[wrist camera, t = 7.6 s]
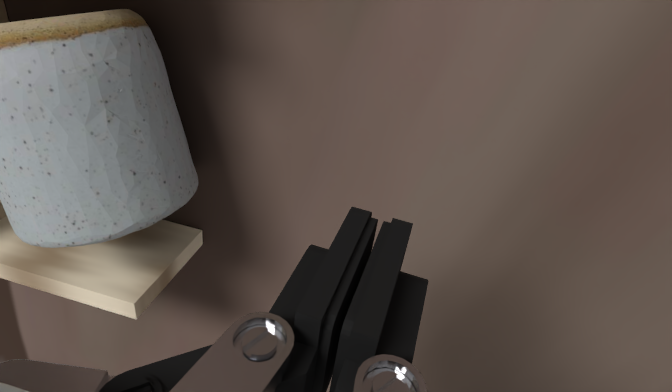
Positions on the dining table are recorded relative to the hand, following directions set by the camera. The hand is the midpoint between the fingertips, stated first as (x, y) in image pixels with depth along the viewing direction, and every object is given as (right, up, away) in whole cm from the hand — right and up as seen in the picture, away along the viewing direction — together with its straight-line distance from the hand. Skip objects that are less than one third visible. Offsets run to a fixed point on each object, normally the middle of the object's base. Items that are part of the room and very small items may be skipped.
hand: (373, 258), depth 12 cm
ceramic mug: (-12, +6, +10) cm, 17 cm away
